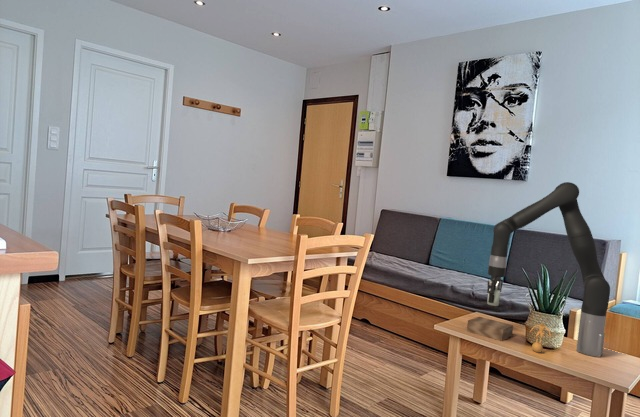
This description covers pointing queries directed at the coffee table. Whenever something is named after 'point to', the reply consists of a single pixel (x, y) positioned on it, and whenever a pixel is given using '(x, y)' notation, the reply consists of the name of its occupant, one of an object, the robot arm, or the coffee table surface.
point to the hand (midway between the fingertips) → (493, 301)
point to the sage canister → (495, 298)
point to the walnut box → (490, 328)
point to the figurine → (537, 346)
